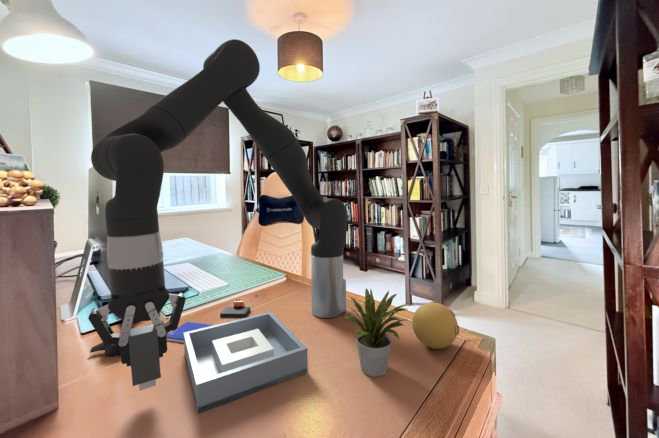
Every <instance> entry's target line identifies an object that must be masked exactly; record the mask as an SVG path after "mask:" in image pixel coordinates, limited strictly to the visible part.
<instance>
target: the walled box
mask: <svg viewBox="0 0 659 438" xmlns="http://www.w3.org/2000/svg"><path fill="white" fill-rule="evenodd" d="M212 325H213V326H209V327H205V328H201V329H197V330H192V331H188V332H184V333H183V335H184V343H183V346H184V347H183V348H184V349H183V350H184V357H185V362H186V365H187V371H188V375H189V378H190V379H189V380H190V384H191V389H192V392H193V397H194V401H195V406H196V411H197V414H201V413H203V412H206V411H208V410H211V409H214V408H216V407H219V406H221V405H225V404H227V403H230V402H233V401H235V400H239V399H241V398H243V397H246V396H249V395H251V394H254V393H256V392H260V391H261V390H265V389H266V388H270V387H272V386H275V385H278V384H281V383H283V382H286V381H288V380H291V379H293V378H296V377H298V376H301V375H304V374H307V373H308V372H309V371H308V370H309V367H308V347H307V346H306V345H305V344H304V343H303V342H302V341H300V339H299V338H298V337H296V335H295V334H294V333H293V332H292V331H290V329H289V328H288V327H286V325H285V324H284V323H283V322H282V321H281V320H280V319H279V318H278V317H277V316H275V314H274V313H273V312H272V311H268V312H264V313H260V314H256V315H251V316H246V317H242V318H239V319H234V320H232V321H226V322H222V323H219V324H212Z"/></svg>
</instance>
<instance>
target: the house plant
mask: <svg viewBox="0 0 659 438" xmlns="http://www.w3.org/2000/svg"><path fill="white" fill-rule="evenodd" d="M389 293H390V290H388V291H387V292H386V293H385V294H384V296H383V298H382V299H381V301H380V302H379V304H378V306H377V307H376V301H375V299H374V295H373V291H372V288H370V291H369V290H368V288H366V287H365V292H364V301H359V300H356V299H355V298H354V297H352V296H349V297H350V299H351V300H352V301H353V303H352V304H353V306H354V307H355V308H356V309H354V308H352V307H351V306H349V308H350V310H352V311H351V312H350V313H351V314H352V313H354V314H356V315H357V317H358V318H359V319H360V320H361V321H360V320H359V319H358V318H357V317H355V316H353V315H349V314H348V315H346V316H344V319H347V320H349V321H351V322H353V323H355V324H356V325H358V326H359V328H360V329H356V337H355V341H356V347H357V352H358V353H357V354H358V358H359V364H360V370H361V372H362V373H363V374H365V375H367V376H369V377H381V376H384V375H385V374H386V372H387V370H388V369H387V368H388V366H389V365H388V364H389V359H390V353H391V349H392V344H393V340H392V337H391V336H394V337H396V338H397V339H398V340H400V338H399V337H400V336H399V334H398V332H397V331H396V330H394V329H393V328H398V327H402V326H404V327H406V326H405V324H403V323H404V321H407V319H406V318H405V319H400V318H399V317H395V316H394V315H395V314H397V315H399V313H398V312H402V311H403V312H404V311H407V308H404V307H407V306H411V305H414V303H406V304H401V305H399V306H398V305H397V306H396V307H394V308H392V309H391V310H389V308H390V307H391V306H392V303H393V301H394V298H395V297H396V296H397V294H398V293H394V294H392V295H391V296H389ZM388 296H389V298H388ZM359 302H360V303H363V304H364V309H363V308H362V307H363V306H361V304H360V303H359ZM364 311H365V312H364ZM359 313H360V315H359ZM386 318H387V319H386ZM392 321H395V322H392ZM390 322H391V323H390ZM388 323H389V324H388ZM387 324H388V325H387ZM389 334H390V335H391V336H389Z"/></svg>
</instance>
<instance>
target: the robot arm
mask: <svg viewBox="0 0 659 438" xmlns="http://www.w3.org/2000/svg"><path fill="white" fill-rule="evenodd" d="M202 67H203V69H201V71H199V72H198V73H197V74H195V75H194V76H192V77H191V78H190V79H188V80H187V81H186V82H184V83H183V84H181V85H179V86H178V87H176V88H175V89H173V90H172V91H171V92H169V93H167V94H166V95H165V96H164V97H162V98H161V99H159V100H158V101H157V102H155V103H154V104H153V105H151V106H150V107H149V108H147V109H146V111H144V112H143V113H142V114H140V116H137V117H136V118H135V119H133V120H131V121H129V122H127V123H125V124H123V125H122V126H119V127H118V128H116V129H115V130H113V131H111V132H110V133H107V135H105V136H104V137H103V138H101V139H100V140H99V141H97V143H96V144H95V145H94V147H93V149H92V151H91V156H90V161H91V165H92V167H93V169H94V170H95V171H96V173H98V174H99V175H100V176H101V177H103V178H104V179H107V180H110V181H113V182H115V193H114V196H113V197H112V198H110V199H109V200H108V201H106V203H105V209H104V216H105V229H106V236H107V239H106V240H107V241H106V243H107V244H106V256H107V257H106V263H107V265H108V266H107V269H108V275H109V276H108V279H109V288H110V299H109V300H108V303H107V304H105V305H103V306H102V307H96V308H93V309H91V310H90V312H89V314H88V316H87V317H88V318H87V319H88V321H89V322H90V324H91V325H92V327H93V328H94V330H95V332H96V334H97V335H98V337H99V338H100V340H101V341H102V342H103V343H104V345H105V346H111V345H118V346H119V347H120V355H121V356H120V362H121V364H122V365H126V367H127V368H128V367H131V362H130V351H129V340H128V336H129V334H130V330H131V329H132V325H134V324H135V325H136V324H138V323H140V322H149V321H151V323H152V324H153V325H154V327H155V329H156V330H157V335H158V348H159V359H160V358H163V357H164V354H166V353H167V351H168V343H167V342H168V340H167V338H166V336H167V334H168V333H170V332H171V331H173V330H176V329H177V328H178V327H179V324H180V323H179V322H180V320H181V317H182V314H183V311H184V307H185V304H186V298H187V297H186V296H185V294H184V293H183V292H178V293H170V292H169V290H168V289H167V288H166V278H165V265H164V252H163V243H162V239H161V235H160V227H159V214H158V213H159V212H158V204H159V200H160V197H161V190H162V184H163V178H164V171H165V169H164V168H165V166H164V165H165V163H164V159H163V155H162V153H163V152H166V151H169V150H172V149H175V148H176V147H178V146H179V145H180V144H182V142H183V141H184V140H186V139H187V137H189V136H190V135H191V134H192V133H193V132H194V131H195V130H196V129H197V128H198V127H199V126H200V125H201V124H202V123H203V122H204V121H205V120H206V119H207V118H208V117H209V116H210V115H211V114H212V113H213V112H214V111H215V110H216V109H217V107H219V106H220V105H221V103H223V104H224V105H225V106H226V107H227V108H228V110H230V112H231V113H232V115H234V117H235V118H236V119H237V120H238V122H239V123H240V124H241V125H242V127H243V128H244V129H245V131H246V132H247V134H248V135H249V136H250V138H251V139H252V141H253V142H254V144H255V145H256V146H257V147H258V149H259V150H260V152H261V154H262V155H263V157H264V158H265V159H266V160H267V162H268V164H269V165H270V167H271V168H272V169H273V171H274V173H275V174H276V175H277V176H278V177H279V179H280V180H281V181H282V183H283V184H284V186H285V188H286V189H287V191H289V193H290V194H291V196H292V197H293V199H294V200H295V202H296V204H297V206H298V208H299V209H300V211H301V213H302V215H303V217H304V219H305V221H306V222H307V223H308V224H309V225H310V226H311V227H312V228H314V229H316V230H319V231H318V232H319V233H318V240H317V241H316V242H313V243H312V244H311V245H310V246H311V247H310V270H311V271H310V272H311V273H310V274H311V277H310V279H311V282H310V283H311V313H312V315H314V316H315V317H317V318H321V319H322V318H323V319H333V318H337V317H340V316H341V315H343V313H346V312H347V279H345V278H344V248H345V245H346V243H347V230H348V229H347V227H348V212H347V211H348V210H347V207H346V205H345V203H344V202H343V201H342V200H340V199H338V198H329V197H324V196H323V195H322V193H320V191H319V190H318V188H317V187H316V186H315V184H314V182H313V181H312V178H311V176H310V175H311V174H310V170H309V162H308V158H307V155H306V153H305V151H304V149H303V147H302V145H301V143H300V142H299V140H298V139H297V137H296V135H295V133H293V131H292V130H291V128H289V127H288V126H287V125H285V124H284V123H282V122H281V121H279V120H278V119H277V118H275V117H273V116H272V115H270V114H269V113H267V112H266V111H265V110H264V109H262V108H261V107H260V106H259V105H258V104H257V102H256V101H255V100H254V98H253V96H252V95H251V94H250V93H249V91H248V89H247V88H249V87H250V86H251V85H252V84H254V82H255V81H256V80H257V79H258V77H259V75H260V71H261V70H260V69H261V67H260V62H259V58H258V56H257V54H256V52H255V51H254V49H253V48H252V47H251V46H250V45H249V44H248V43H247V42H245V41H243V40H240V39H235V38H234V39H233V38H232V39H229V40H226V41H224V42H223V43H221V44H220V45H219V46H218V47H216V49H215V50H214V51H212V52H211V53H210V54H209V55H208V56H207V57H206V58H205V59H204V61H203V66H202ZM168 301H169V302H170V305H171V307H172V310H171V313H170V317H169V319H168V321H167V322H166V323H164V320H163V317H162V314H161V311H162V309H163V308H164V306H165V305H166V304H167V302H168ZM109 312H111V313H113V314H114V315H115V316H116V317H117V318H119V319H120V320H121V321H122V325H121V330H120V334H119V333H115V332H114V331H113V328H112V327H111V326H110V324H109V322H108V319H109V315H110V314H109Z"/></svg>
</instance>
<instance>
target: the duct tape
mask: <svg viewBox="0 0 659 438" xmlns="http://www.w3.org/2000/svg"><path fill="white" fill-rule="evenodd" d="M120 333H121V332H120ZM120 333H118V334H120ZM100 351H101V352H102V351H104V355H105V356H106V357H110V358H112V357H113V358H115V357H116V358H117V357H121V355H120V347H119V346H118V345H111V346H105V345H104V343H103V341H102V342H100V343H98V344H96V345H94V346H92V347H91V349H90V351H89V354H91V353H95V352H100Z"/></svg>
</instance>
